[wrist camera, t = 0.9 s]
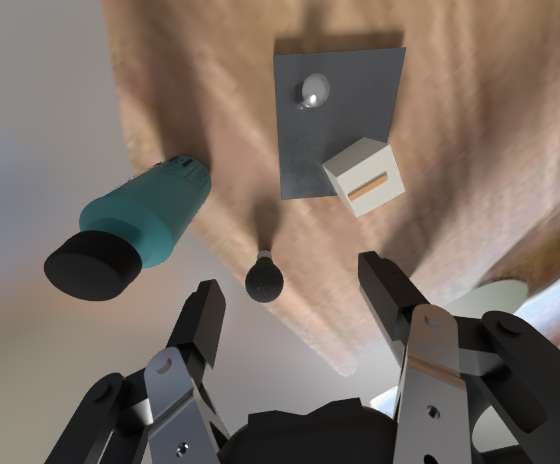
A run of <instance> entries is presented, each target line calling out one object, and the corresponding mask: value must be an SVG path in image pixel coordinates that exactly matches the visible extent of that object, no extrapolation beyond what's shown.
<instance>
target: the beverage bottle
mask: <svg viewBox="0 0 560 464" xmlns="http://www.w3.org/2000/svg"><path fill="white" fill-rule="evenodd" d="M162 162H163V161H162ZM162 162H160V163H158V164H156V165H158V166H156V165H154V166H156V167H154V168H153V167H152V169H151V168H150V170H148V171H147V172H145V173H143V174H141V175H140V174H139V176H138V177H136V178H134V179H132V180H130V181H128V182H127V183H125V184H123V185H122V186H121V187H119V188H117V189H115V190H114V191H112V192H110V193H108V194H107V195H105V196H103V197H100V198H97V199H95V200H94V201H92V202H90V203H89V204H88V205H87V206H86V207H85V208H84V209H83V211H82V212H81V215H80V219H79V226H80V231H81V232H79V233H77V234H76V235H74V236H72V237H71V238H70V239H68V240H67V241H66V242H65V243H64V244H63V245H62V246H61V247H60V248H58V249H57V250H56V251H55V252H53V253H52V254H51V255H50V256H49V257H48V258H47V260H46V261H45V264H44V272H45V275H46V276H47V278H48V279H49V281H50V282H51V283H52V284H53V285H54V286H55V287H57V288H58V289H59V290H61V291H62V292H64V293H66V294H68V295H70V296H73V297H75V298H79V299H83V300H88V301H106V300H110V299H113V298H115V297H116V296H118V295H119V294H121V292H123V290H124V289H125V288H126V287H127V286H128V285H129V284H130V283H131V282H132V281H133V280H134V279H135V278H136V277H137V276H138V274H139V273H140V271H141V269H142V268H150V267H153V266H157V265H159V264H161V263H163V262H164V261H165V260H166V259H167V258H168V257H169V256H170V255H171V253H172V251H173V249H174V247H175V245H176V244H177V242H178V240H179V239H180V237H181V236H182V234H183V232H184V231H185V229H186V228H187V226H188V225H189V224H190V222H191V220H192V219H193V217H194V216H195V215H196V213H199V212H197V211H198V210H199V208H200V207H201V205H202V203H204V202H205V201H204V200H207V198H206V197H207V196H208V194H209V192H210V189H211V178H210V175H209V172H208V170H207V169H206V167H205V166H204V165H203V164H202V163H201V162H199V161H198V160H197V159H194V158H193V157H191V156H190V157H188V156H183V155H181V156H174V157H172V158H170V159H169V160H167V161H165V162H163V163H162ZM148 169H149V168H148ZM146 170H147V169H146ZM136 176H137V175H136ZM199 211H200V210H199Z"/></svg>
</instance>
